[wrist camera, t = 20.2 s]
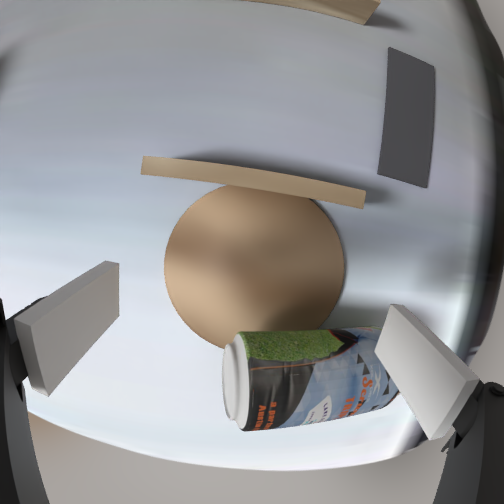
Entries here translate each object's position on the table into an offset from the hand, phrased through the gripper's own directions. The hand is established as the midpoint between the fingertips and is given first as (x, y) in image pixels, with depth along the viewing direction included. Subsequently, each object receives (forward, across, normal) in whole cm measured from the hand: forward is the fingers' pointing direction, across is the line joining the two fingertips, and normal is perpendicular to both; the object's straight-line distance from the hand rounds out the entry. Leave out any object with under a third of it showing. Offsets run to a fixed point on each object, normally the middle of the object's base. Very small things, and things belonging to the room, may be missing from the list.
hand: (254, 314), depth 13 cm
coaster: (+7, 0, 0) cm, 7 cm away
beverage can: (+2, -1, -5) cm, 6 cm away
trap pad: (+7, +9, +13) cm, 17 cm away
